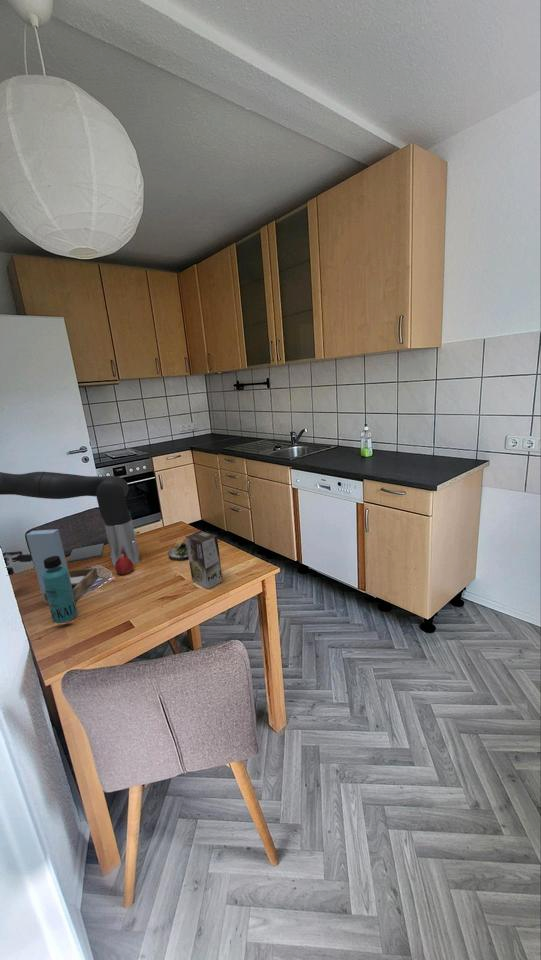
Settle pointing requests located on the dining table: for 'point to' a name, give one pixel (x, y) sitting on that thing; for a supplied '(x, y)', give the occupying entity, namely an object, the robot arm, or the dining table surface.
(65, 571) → the beverage bottle
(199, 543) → the coffee box
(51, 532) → the board
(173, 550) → the burger
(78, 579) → the offcut
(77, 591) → the rack
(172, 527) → the dining table surface
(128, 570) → the pomegranate
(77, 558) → the mat
